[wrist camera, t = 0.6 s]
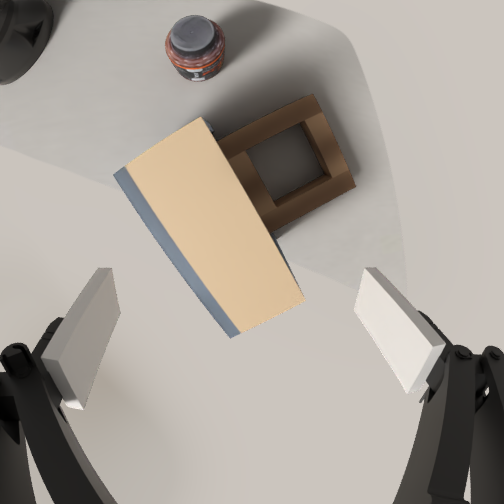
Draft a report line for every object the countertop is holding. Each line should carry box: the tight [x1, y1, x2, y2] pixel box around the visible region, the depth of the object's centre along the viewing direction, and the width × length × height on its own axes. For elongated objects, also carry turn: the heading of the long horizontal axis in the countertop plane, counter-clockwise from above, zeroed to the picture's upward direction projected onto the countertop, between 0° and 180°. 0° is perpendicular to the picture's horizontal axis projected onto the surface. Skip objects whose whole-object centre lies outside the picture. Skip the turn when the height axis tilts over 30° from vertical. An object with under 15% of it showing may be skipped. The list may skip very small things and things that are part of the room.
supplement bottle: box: [165, 15, 225, 81], centre depth 25 cm, size 6×6×11 cm
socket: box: [217, 94, 356, 233], centre depth 35 cm, size 13×13×3 cm
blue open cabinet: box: [113, 117, 305, 338], centre depth 30 cm, size 18×8×16 cm, turn 29°
